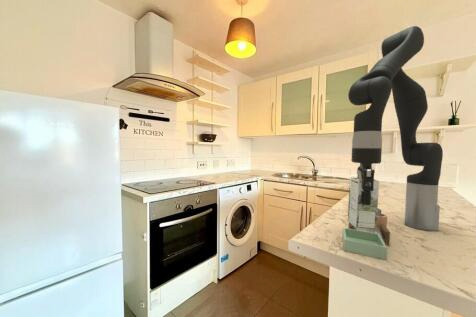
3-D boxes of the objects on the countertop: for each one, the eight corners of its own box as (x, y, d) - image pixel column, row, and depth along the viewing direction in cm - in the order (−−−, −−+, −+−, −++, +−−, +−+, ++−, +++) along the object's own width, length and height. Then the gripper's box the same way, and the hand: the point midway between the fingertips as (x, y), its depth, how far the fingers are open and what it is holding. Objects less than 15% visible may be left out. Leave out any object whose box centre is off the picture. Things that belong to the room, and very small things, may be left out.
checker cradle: (383, 235, 69) (384, 223, 69) (389, 245, 62) (389, 232, 62) (348, 229, 74) (348, 218, 74) (349, 238, 67) (350, 226, 67)
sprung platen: (377, 230, 70) (377, 227, 70) (381, 237, 63) (381, 234, 63) (354, 226, 73) (354, 223, 73) (356, 233, 66) (356, 230, 66)
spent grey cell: (379, 227, 75) (380, 207, 75) (381, 229, 73) (382, 209, 72) (371, 225, 76) (371, 206, 76) (372, 228, 74) (373, 208, 73)
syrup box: (366, 222, 63) (368, 177, 63) (377, 229, 57) (379, 180, 57) (347, 221, 64) (349, 176, 63) (356, 228, 58) (358, 179, 57)
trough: (378, 244, 63) (379, 233, 63) (386, 259, 54) (387, 247, 54) (342, 237, 67) (342, 227, 67) (343, 250, 58) (344, 239, 58)
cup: (383, 228, 76) (384, 213, 76) (387, 234, 70) (388, 217, 70) (365, 225, 78) (366, 210, 78) (367, 231, 73) (368, 215, 73)
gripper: (387, 146, 51) (384, 209, 52) (376, 147, 64) (374, 198, 65) (354, 146, 55) (351, 205, 55) (350, 147, 68) (348, 195, 68)
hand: (363, 201), depth 60 cm, fingers closed on syrup box, 6 cm apart
